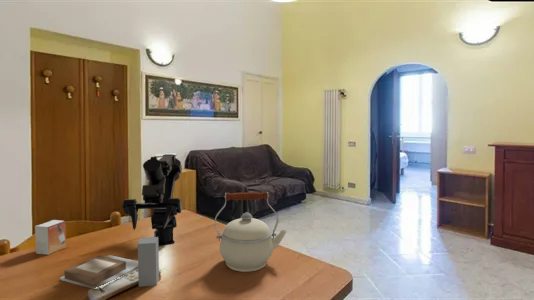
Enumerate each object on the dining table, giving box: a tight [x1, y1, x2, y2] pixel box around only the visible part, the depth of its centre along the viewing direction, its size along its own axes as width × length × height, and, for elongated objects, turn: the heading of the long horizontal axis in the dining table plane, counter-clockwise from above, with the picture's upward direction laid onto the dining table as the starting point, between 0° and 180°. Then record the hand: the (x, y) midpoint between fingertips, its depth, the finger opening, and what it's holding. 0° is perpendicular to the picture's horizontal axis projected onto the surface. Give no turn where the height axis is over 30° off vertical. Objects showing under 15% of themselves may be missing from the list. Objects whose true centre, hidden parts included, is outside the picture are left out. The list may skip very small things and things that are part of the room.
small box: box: [34, 219, 67, 256], centre depth 118 cm, size 8×6×10 cm
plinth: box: [59, 254, 138, 290], centre depth 102 cm, size 18×16×4 cm
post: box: [137, 236, 160, 288], centre depth 96 cm, size 5×5×13 cm
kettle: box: [214, 191, 288, 273], centre depth 109 cm, size 25×18×25 cm
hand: (148, 228), depth 103 cm, fingers open, 9 cm apart
